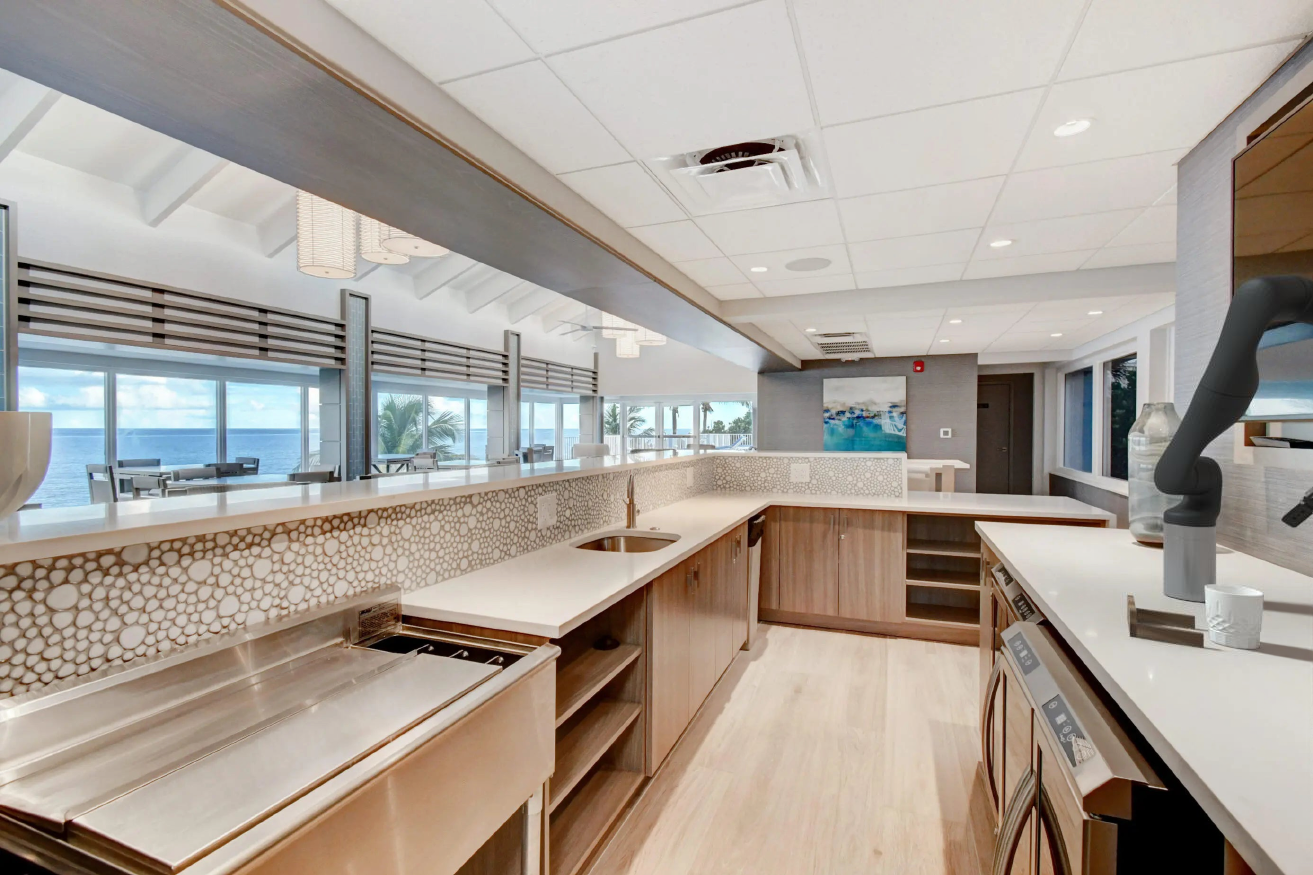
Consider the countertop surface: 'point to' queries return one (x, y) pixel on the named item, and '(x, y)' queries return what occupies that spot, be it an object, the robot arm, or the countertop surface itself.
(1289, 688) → the countertop surface
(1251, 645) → the white cup
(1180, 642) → the walnut bay
